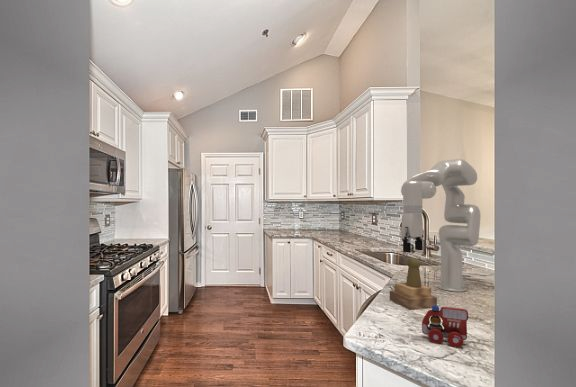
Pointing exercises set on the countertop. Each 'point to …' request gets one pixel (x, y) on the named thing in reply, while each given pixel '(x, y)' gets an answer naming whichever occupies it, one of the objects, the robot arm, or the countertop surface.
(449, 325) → the toy fire truck
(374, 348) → the countertop surface
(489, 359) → the countertop surface
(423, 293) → the stepped wooden base
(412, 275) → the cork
